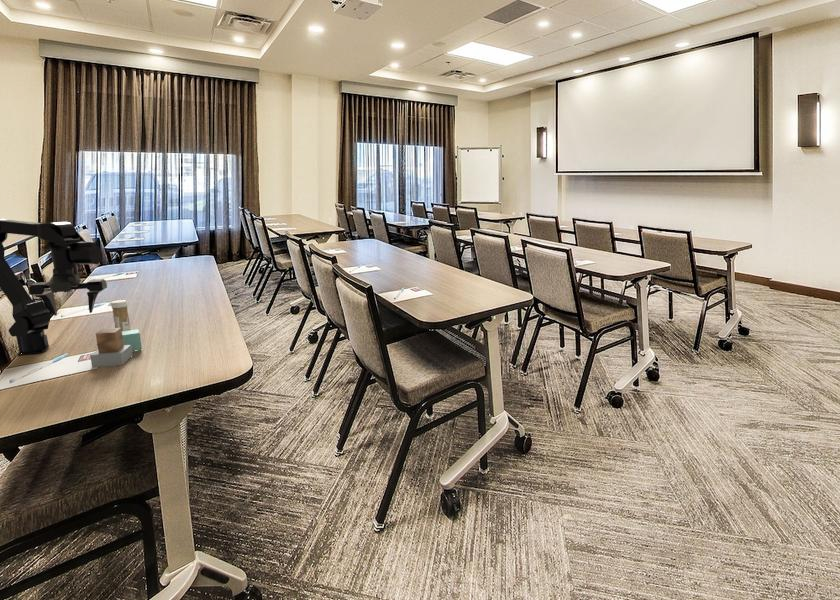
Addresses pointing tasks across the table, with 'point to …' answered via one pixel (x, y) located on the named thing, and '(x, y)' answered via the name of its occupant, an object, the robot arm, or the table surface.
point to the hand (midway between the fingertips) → (73, 313)
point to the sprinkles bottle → (120, 314)
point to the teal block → (132, 339)
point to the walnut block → (109, 340)
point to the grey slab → (111, 357)
